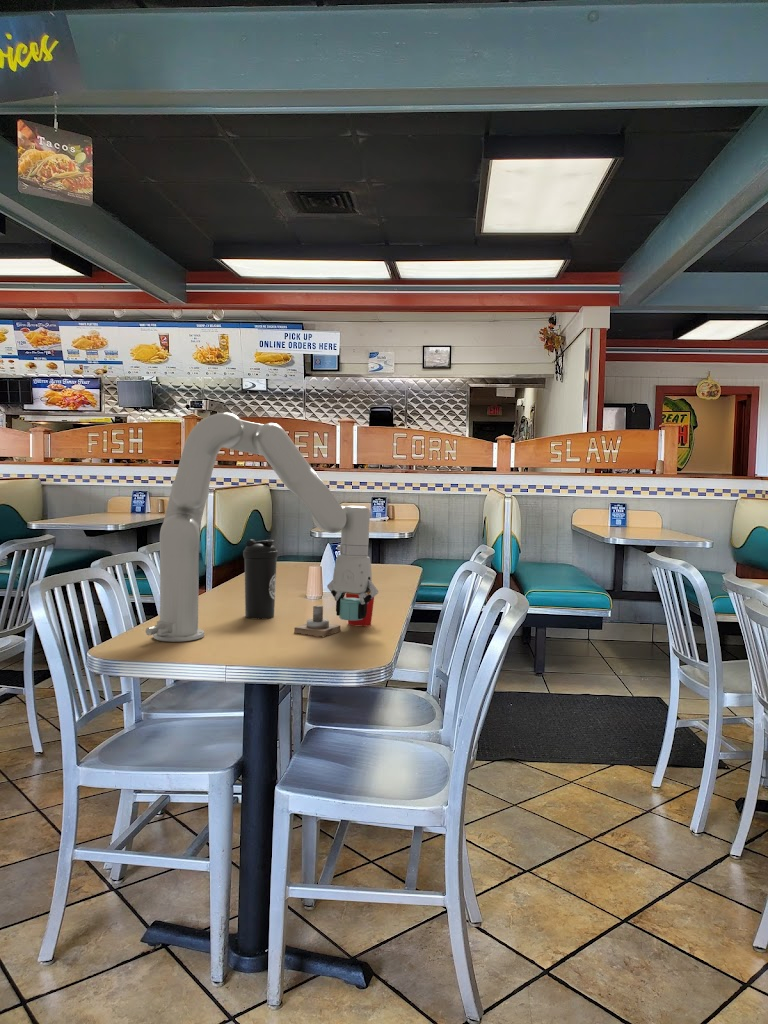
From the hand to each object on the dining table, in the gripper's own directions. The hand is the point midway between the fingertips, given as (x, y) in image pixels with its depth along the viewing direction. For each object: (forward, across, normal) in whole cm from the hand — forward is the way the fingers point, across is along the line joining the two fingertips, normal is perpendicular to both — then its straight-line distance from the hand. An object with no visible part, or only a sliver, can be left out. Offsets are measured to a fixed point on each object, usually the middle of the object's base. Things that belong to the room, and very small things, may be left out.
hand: (351, 615), depth 194 cm
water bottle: (+5, -33, +4) cm, 34 cm away
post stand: (+4, -7, -6) cm, 10 cm away
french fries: (+4, -2, +9) cm, 11 cm away
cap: (+1, 0, 0) cm, 1 cm away
